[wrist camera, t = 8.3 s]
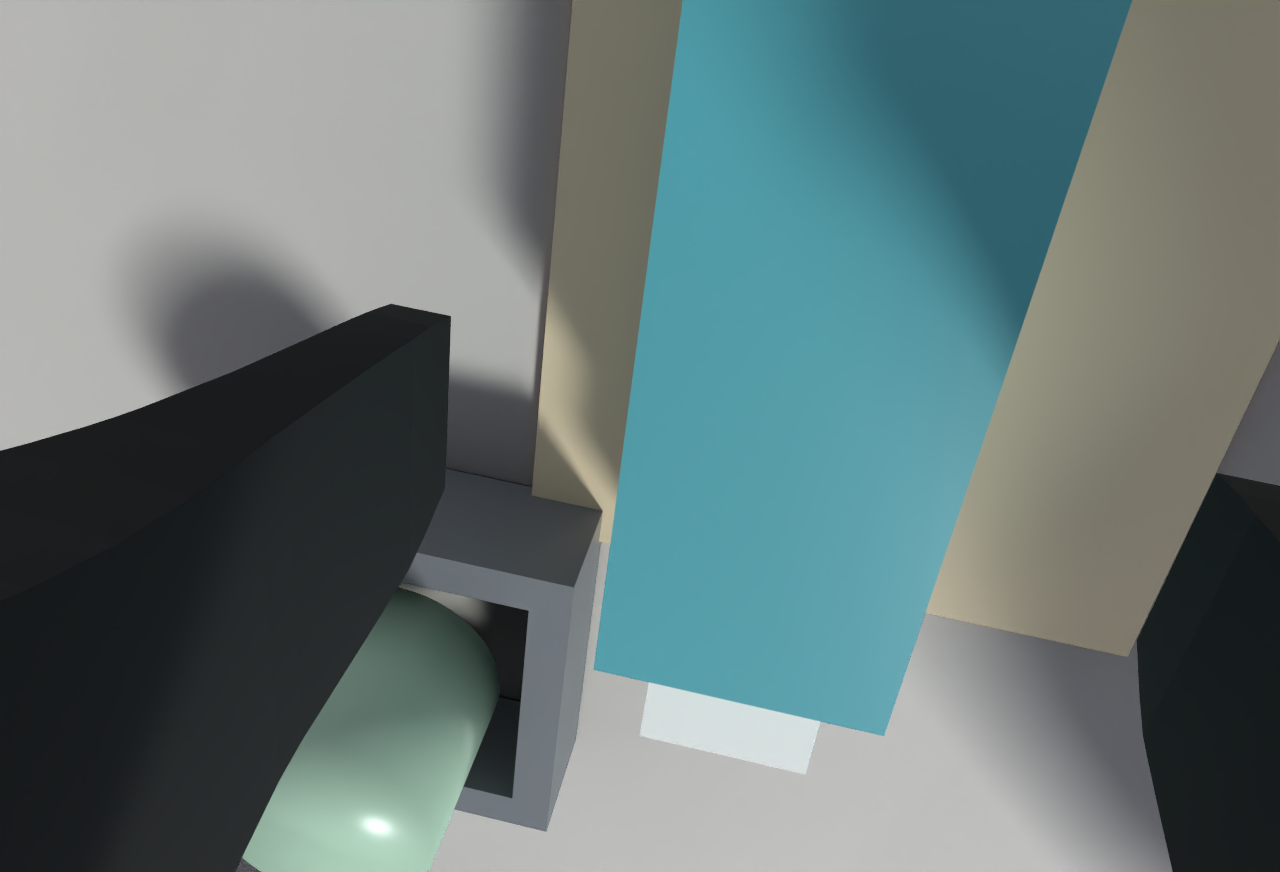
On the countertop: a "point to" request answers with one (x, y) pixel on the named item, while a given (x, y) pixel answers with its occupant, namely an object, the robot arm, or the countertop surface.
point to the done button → (385, 750)
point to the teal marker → (828, 343)
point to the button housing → (556, 631)
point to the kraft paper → (1050, 335)
